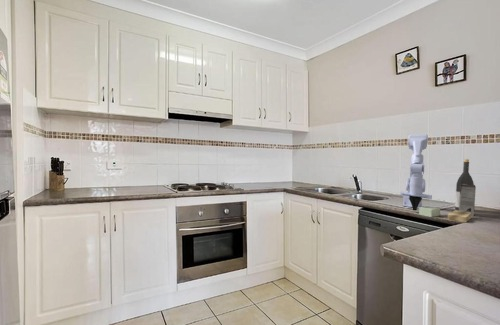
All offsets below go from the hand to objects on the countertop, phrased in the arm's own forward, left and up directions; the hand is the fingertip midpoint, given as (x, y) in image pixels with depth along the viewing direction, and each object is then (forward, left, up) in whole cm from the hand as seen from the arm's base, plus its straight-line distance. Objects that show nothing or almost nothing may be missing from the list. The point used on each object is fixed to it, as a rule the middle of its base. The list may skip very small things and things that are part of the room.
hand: (414, 210), depth 141 cm
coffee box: (+19, +21, -1) cm, 28 cm away
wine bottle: (+16, +34, -1) cm, 38 cm away
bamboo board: (+19, +4, -1) cm, 19 cm away
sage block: (+7, 0, -2) cm, 7 cm away
